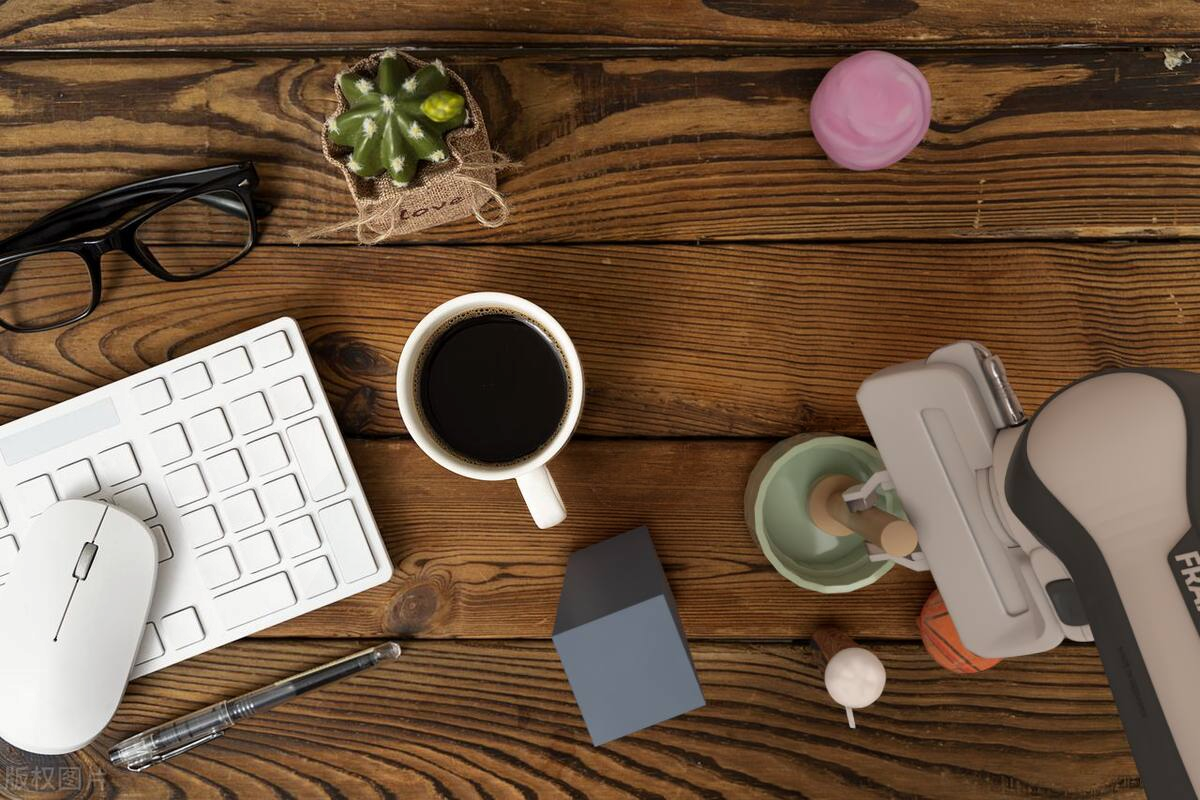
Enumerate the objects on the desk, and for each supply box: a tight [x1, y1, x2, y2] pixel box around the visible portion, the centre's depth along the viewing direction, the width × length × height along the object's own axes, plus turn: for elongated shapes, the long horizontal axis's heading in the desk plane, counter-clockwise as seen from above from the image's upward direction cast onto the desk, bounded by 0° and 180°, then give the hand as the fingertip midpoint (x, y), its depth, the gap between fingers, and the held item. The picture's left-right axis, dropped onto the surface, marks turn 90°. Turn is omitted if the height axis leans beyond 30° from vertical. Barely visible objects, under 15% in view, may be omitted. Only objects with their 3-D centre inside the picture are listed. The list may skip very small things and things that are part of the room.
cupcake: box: [809, 49, 932, 172], centre depth 67 cm, size 9×9×10 cm
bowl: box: [743, 431, 910, 594], centre depth 69 cm, size 12×12×6 cm
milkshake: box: [808, 625, 887, 729], centre depth 68 cm, size 5×5×10 cm
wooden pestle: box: [805, 473, 918, 557], centre depth 63 cm, size 5×5×16 cm
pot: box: [915, 587, 1005, 675], centre depth 70 cm, size 8×8×7 cm
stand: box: [551, 524, 707, 748], centre depth 61 cm, size 7×7×23 cm
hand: (859, 524), depth 62 cm, fingers closed on wooden pestle, 2 cm apart
